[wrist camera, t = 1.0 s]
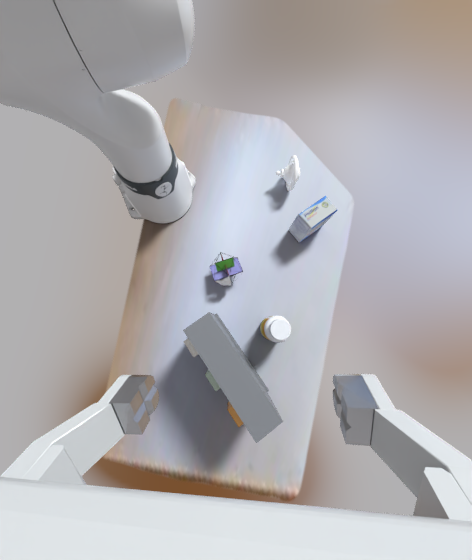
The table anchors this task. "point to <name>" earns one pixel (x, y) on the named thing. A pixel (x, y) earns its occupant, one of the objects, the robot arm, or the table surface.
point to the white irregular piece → (290, 173)
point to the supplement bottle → (275, 328)
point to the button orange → (234, 414)
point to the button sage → (212, 380)
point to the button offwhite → (191, 348)
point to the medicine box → (312, 219)
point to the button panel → (234, 375)
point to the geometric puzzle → (225, 270)
